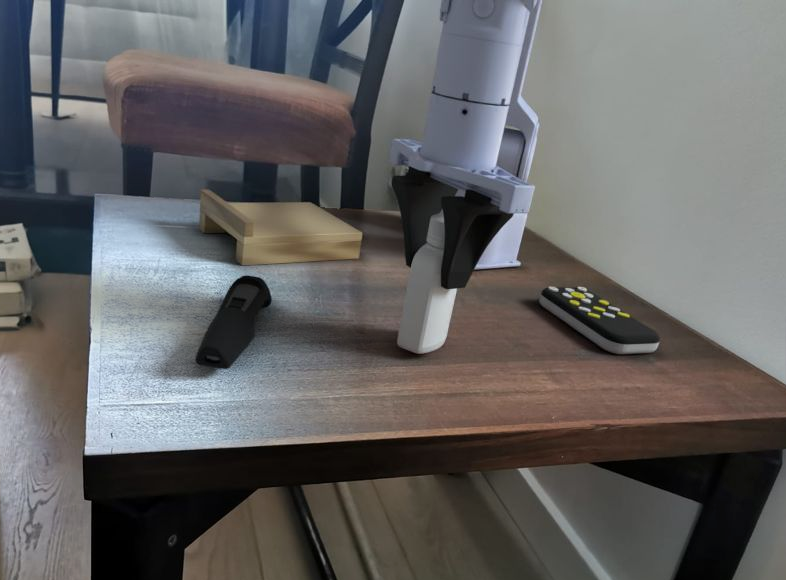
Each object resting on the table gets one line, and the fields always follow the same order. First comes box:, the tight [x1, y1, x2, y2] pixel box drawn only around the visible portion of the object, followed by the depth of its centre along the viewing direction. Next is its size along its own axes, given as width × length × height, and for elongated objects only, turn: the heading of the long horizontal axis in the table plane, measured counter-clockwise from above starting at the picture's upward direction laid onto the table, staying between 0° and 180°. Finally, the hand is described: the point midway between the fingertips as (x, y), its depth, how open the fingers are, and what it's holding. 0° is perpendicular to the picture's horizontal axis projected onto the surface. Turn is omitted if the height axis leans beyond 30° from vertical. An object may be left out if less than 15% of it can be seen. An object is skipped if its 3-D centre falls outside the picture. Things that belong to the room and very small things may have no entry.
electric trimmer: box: [194, 275, 273, 370], centre depth 55 cm, size 4×16×3 cm, turn 177°
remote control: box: [538, 286, 661, 355], centre depth 69 cm, size 6×13×2 cm, turn 22°
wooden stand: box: [198, 189, 364, 266], centre depth 77 cm, size 14×12×4 cm
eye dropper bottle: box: [396, 210, 458, 355], centre depth 56 cm, size 4×6×12 cm
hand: (434, 275), depth 56 cm, fingers closed on eye dropper bottle, 4 cm apart
